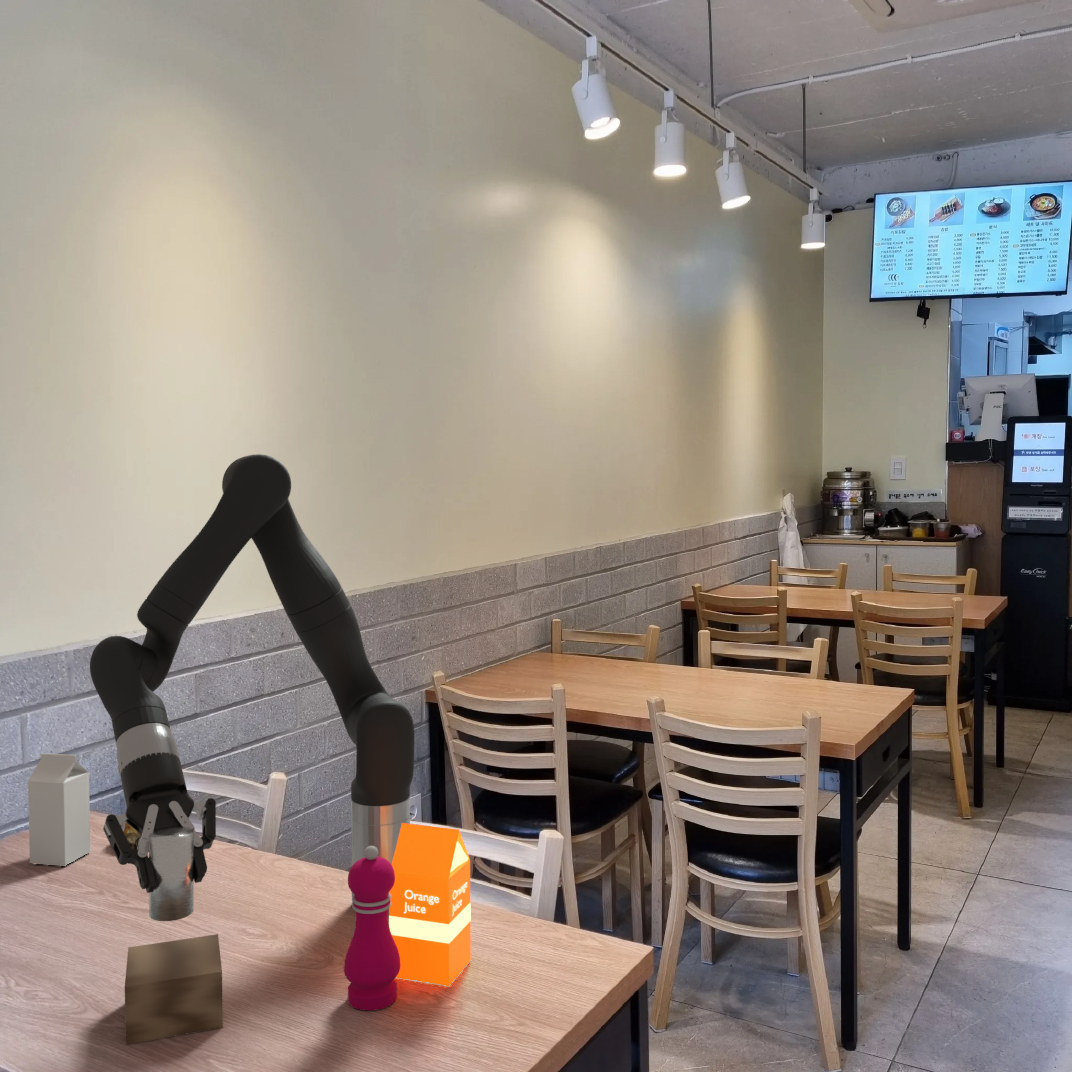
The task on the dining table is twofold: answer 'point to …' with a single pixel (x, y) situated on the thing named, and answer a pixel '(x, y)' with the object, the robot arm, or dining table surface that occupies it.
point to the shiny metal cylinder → (172, 873)
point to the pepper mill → (371, 935)
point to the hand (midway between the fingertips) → (176, 884)
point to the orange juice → (431, 903)
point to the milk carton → (58, 810)
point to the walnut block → (173, 988)
